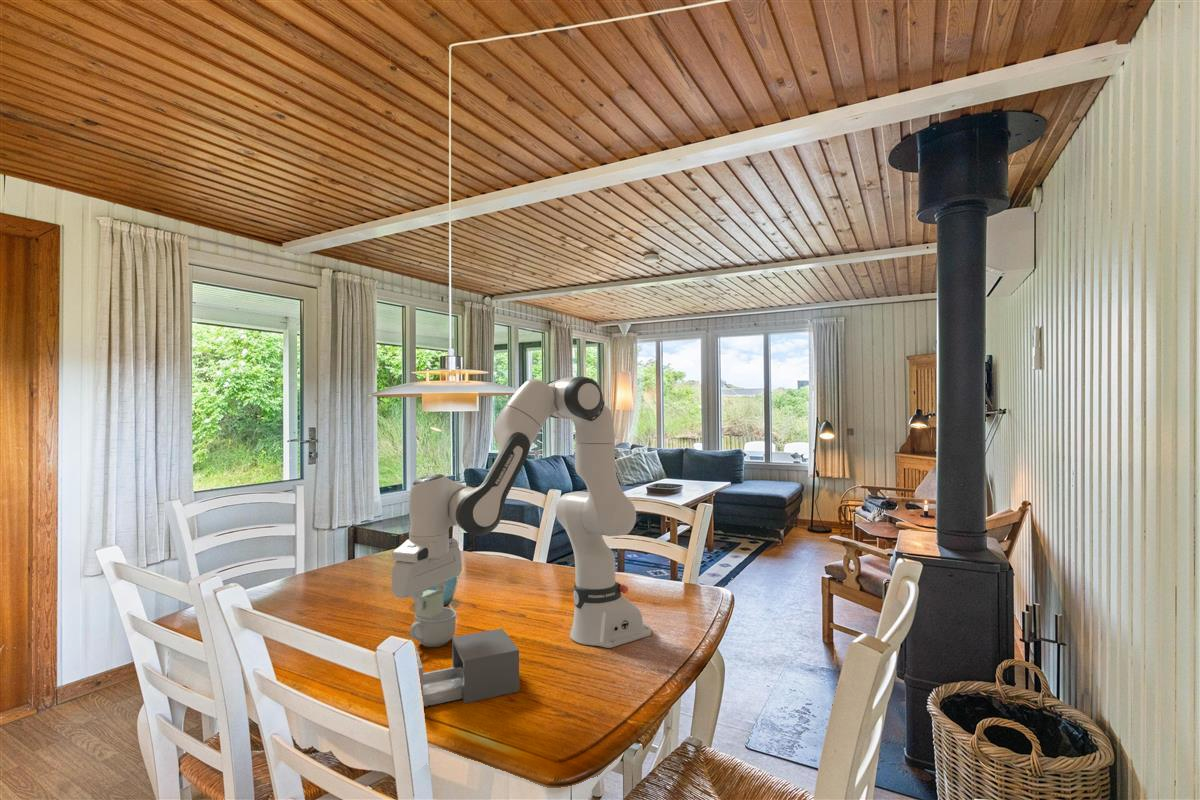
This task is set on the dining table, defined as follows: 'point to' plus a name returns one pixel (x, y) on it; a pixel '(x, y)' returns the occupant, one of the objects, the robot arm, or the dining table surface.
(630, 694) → the dining table surface
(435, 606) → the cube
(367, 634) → the dining table surface
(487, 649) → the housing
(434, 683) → the tray
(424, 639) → the teacup
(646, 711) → the dining table surface
